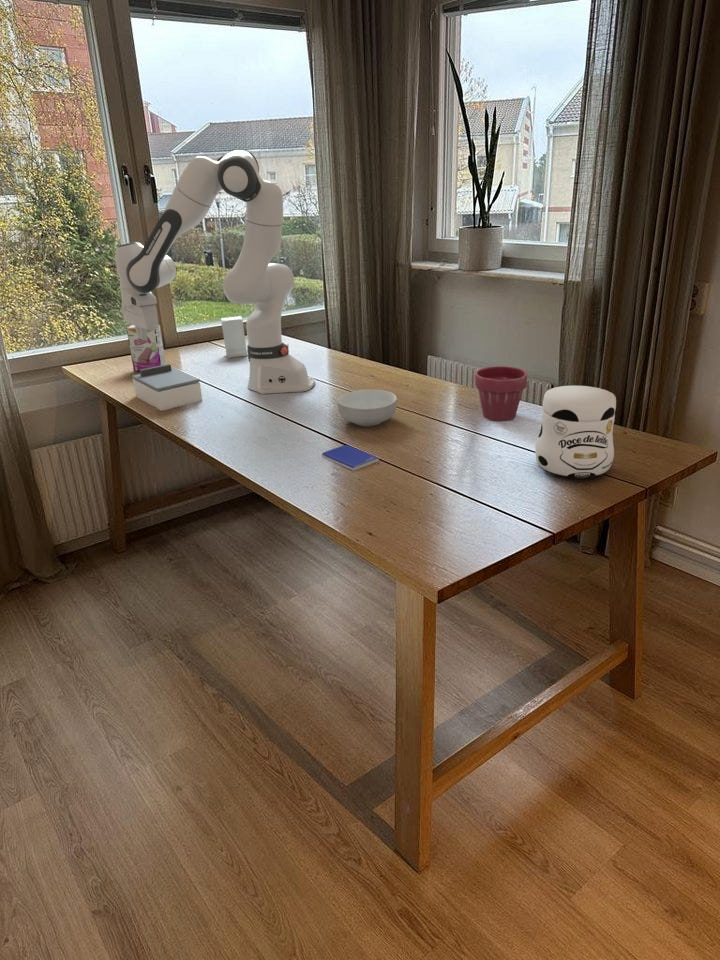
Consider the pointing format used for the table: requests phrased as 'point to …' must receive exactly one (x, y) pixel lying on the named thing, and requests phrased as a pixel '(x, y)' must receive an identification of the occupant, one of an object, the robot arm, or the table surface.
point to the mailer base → (168, 395)
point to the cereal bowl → (367, 406)
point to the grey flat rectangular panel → (164, 377)
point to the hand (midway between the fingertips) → (142, 339)
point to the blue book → (350, 457)
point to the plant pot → (500, 391)
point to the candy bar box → (146, 349)
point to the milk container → (576, 432)
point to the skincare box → (234, 336)
